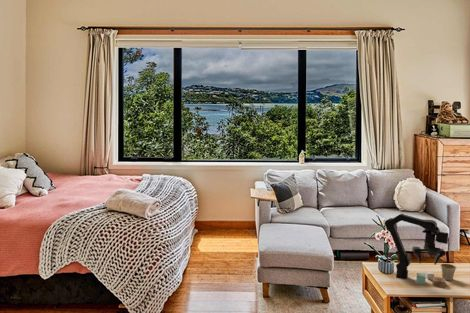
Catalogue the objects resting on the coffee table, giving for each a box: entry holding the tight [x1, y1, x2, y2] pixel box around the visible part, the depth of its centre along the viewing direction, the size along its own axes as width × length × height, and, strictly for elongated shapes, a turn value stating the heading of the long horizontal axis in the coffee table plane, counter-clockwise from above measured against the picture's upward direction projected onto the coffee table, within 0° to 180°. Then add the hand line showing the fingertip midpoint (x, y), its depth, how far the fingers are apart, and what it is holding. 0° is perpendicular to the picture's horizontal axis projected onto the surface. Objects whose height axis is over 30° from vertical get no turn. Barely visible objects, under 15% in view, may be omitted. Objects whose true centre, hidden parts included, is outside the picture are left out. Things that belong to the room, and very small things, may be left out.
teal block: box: [416, 272, 427, 285], centre depth 275 cm, size 5×5×5 cm
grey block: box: [424, 270, 435, 281], centre depth 282 cm, size 4×4×4 cm
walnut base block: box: [431, 276, 447, 288], centre depth 273 cm, size 7×7×4 cm
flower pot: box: [440, 263, 457, 281], centre depth 281 cm, size 9×9×9 cm
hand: (427, 264), depth 274 cm, fingers open, 9 cm apart
